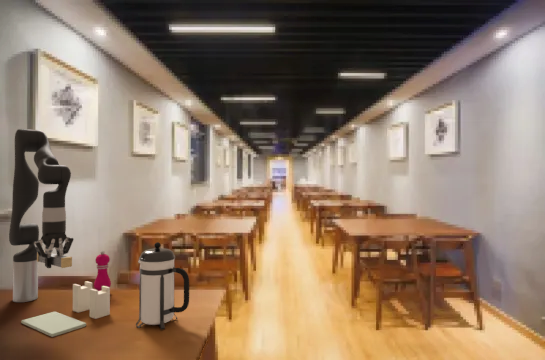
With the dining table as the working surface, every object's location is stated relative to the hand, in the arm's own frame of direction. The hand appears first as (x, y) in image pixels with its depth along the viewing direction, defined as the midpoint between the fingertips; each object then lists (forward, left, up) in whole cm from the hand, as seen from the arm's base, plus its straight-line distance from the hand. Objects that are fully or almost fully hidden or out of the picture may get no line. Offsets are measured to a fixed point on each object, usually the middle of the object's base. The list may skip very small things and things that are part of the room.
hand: (53, 266), depth 142 cm
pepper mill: (-20, +32, -21) cm, 43 cm away
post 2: (+5, +15, -21) cm, 26 cm away
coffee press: (+31, +23, -21) cm, 44 cm away
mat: (0, 0, -21) cm, 21 cm away
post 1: (-7, +15, -21) cm, 27 cm away
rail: (0, 0, +1) cm, 1 cm away
